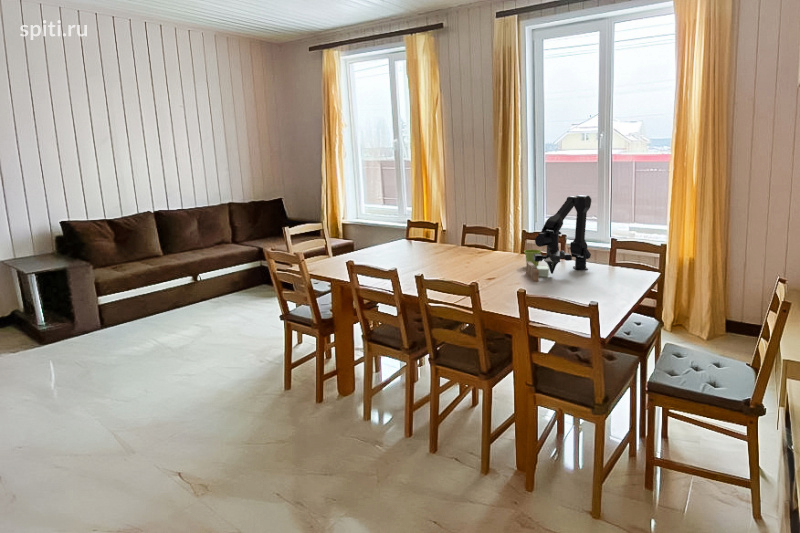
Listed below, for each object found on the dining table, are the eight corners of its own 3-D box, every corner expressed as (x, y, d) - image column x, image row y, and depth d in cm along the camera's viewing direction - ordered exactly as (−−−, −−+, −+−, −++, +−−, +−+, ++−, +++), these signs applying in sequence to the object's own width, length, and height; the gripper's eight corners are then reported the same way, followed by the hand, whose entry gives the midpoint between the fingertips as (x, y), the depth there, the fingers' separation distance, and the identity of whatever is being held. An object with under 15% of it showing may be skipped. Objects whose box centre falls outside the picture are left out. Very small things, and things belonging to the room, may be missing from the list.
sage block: (536, 273, 304) (537, 265, 303) (548, 273, 302) (548, 266, 301) (536, 276, 297) (536, 269, 296) (548, 276, 296) (548, 269, 295)
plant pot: (520, 266, 319) (520, 251, 317) (531, 263, 325) (531, 248, 322) (533, 269, 312) (533, 253, 310) (544, 266, 317) (544, 250, 315)
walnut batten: (526, 272, 305) (526, 261, 303) (530, 272, 305) (531, 261, 303) (533, 281, 287) (533, 269, 286) (538, 281, 287) (538, 269, 286)
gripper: (537, 247, 284) (537, 278, 288) (575, 246, 284) (574, 276, 287) (532, 243, 295) (532, 272, 299) (569, 242, 295) (568, 271, 298)
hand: (551, 273), depth 295 cm, fingers closed
